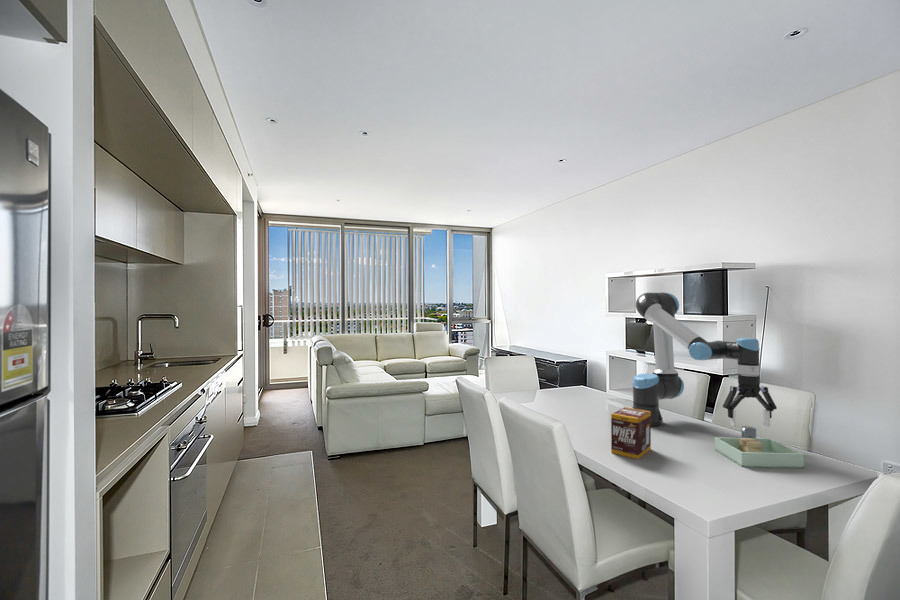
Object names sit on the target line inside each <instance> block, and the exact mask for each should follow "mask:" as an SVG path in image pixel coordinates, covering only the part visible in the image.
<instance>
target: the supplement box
mask: <svg viewBox="0 0 900 600" xmlns="http://www.w3.org/2000/svg"><path fill="white" fill-rule="evenodd" d="M610 416H611V417H610V423H611V424H610V425H611V427H610V428H611V429H610V432H611V434H610V435H611V438H610V439H611V441H610V442H611V443H610V444H611V448H610V449H611V453H612V454H614V455H615V454H616V455H619V456H623V457H626V458H631V459H636V460H639V459H640V458H641V457H643V456H644V455H646V454H647V453H648V452H649V451H651V449H652V446H651V445H652V444H651V443H652V442H651V440H652V439H651V438H652V437H651V436H652V435H651V429H652V426H651V412H650V411H645V410H639V409H634V408H632V407H622V408H621V409H619V410H617V411H615V412H613V413H611V415H610Z"/></svg>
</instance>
